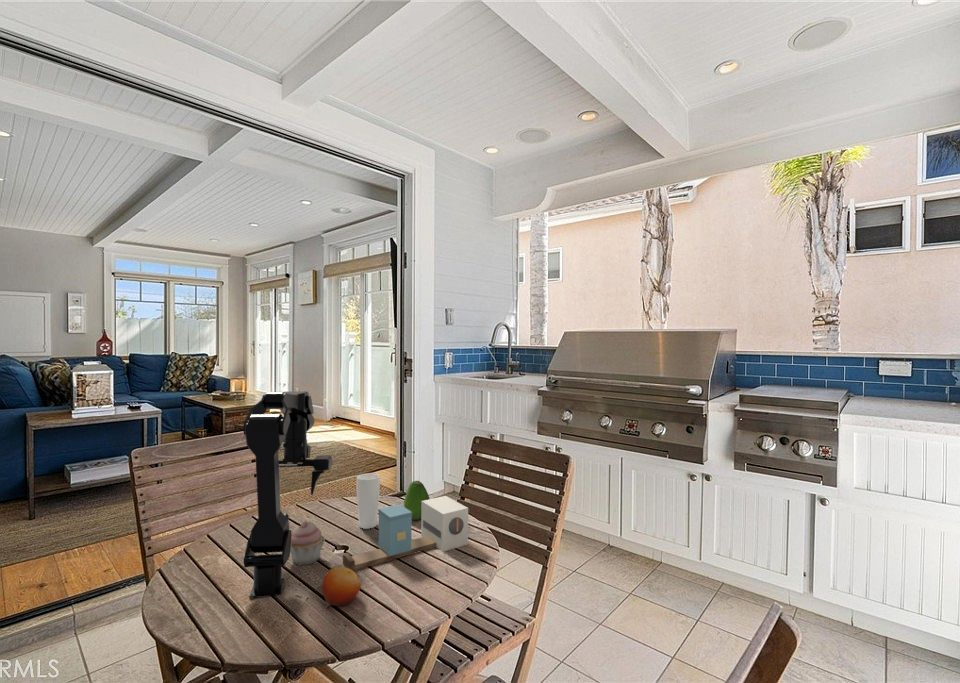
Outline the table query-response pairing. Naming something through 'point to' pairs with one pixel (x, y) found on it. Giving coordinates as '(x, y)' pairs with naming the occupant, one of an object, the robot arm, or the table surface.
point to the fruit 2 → (415, 498)
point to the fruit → (340, 586)
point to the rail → (384, 554)
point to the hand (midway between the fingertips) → (294, 495)
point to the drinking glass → (367, 499)
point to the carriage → (395, 529)
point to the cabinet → (444, 522)
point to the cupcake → (306, 543)
